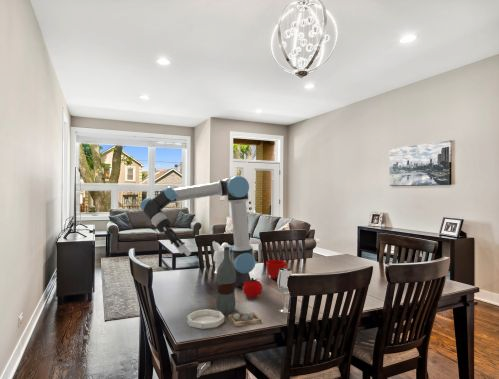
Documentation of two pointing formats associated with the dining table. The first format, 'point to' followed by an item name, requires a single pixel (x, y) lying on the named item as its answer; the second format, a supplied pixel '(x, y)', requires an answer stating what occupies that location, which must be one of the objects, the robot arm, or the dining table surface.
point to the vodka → (226, 284)
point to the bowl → (205, 319)
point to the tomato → (252, 288)
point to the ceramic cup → (275, 267)
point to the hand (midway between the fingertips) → (186, 253)
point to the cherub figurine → (218, 254)
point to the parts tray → (247, 322)
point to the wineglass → (283, 285)
